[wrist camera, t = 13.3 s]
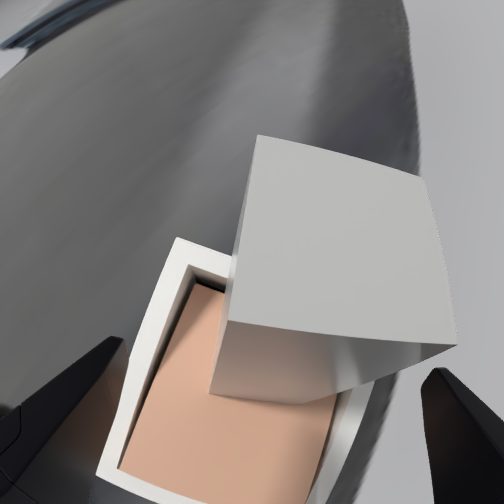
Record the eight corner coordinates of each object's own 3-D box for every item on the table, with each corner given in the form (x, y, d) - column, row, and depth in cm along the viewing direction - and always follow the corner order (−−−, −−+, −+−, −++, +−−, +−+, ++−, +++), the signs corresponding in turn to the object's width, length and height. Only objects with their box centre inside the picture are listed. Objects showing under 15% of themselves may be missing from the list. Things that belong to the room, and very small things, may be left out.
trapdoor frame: (292, 505, 18) (306, 538, 13) (119, 450, 18) (94, 474, 14) (361, 319, 22) (393, 313, 17) (187, 259, 23) (176, 237, 18)
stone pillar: (298, 404, 16) (457, 344, 6) (208, 393, 16) (227, 319, 5) (304, 322, 19) (423, 178, 8) (221, 309, 19) (257, 134, 8)
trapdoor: (280, 508, 16) (297, 523, 13) (133, 462, 16) (118, 469, 13) (326, 351, 22) (349, 335, 19) (195, 307, 23) (195, 283, 19)
